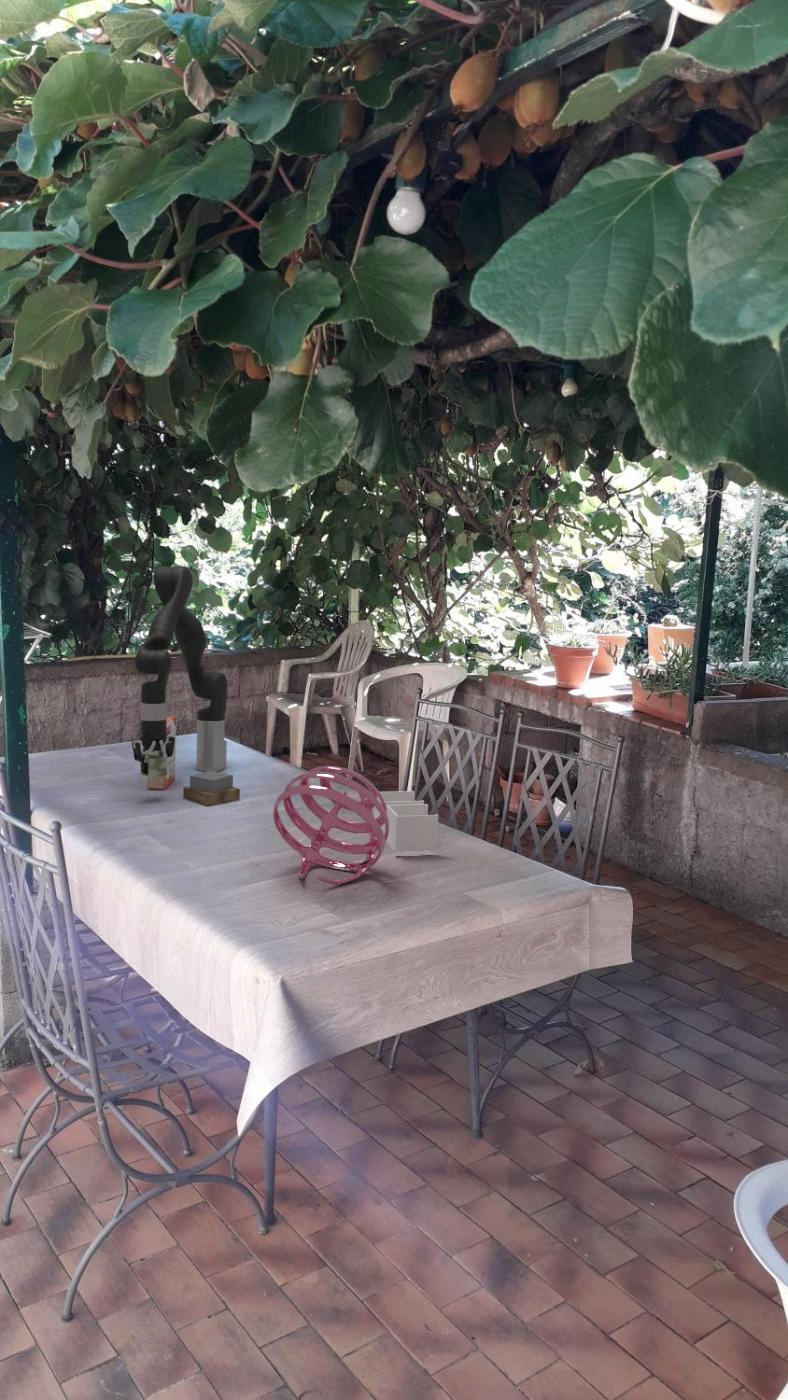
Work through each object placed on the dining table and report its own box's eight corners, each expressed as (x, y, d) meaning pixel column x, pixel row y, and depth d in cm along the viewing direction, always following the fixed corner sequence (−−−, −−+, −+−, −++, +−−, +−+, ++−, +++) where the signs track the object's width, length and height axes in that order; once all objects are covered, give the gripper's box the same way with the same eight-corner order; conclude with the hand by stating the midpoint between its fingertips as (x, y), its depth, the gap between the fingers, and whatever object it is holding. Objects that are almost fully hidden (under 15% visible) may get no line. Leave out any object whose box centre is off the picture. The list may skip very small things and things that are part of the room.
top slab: (209, 783, 320) (210, 770, 319) (232, 787, 315) (233, 774, 315) (190, 788, 312) (190, 775, 311) (213, 793, 308) (213, 780, 307)
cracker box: (166, 790, 322) (166, 724, 319) (146, 789, 323) (147, 723, 319) (176, 779, 336) (177, 716, 333) (157, 778, 336) (158, 715, 333)
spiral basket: (327, 824, 223) (372, 737, 241) (230, 831, 238) (279, 748, 256) (385, 907, 237) (423, 819, 255) (290, 909, 252) (332, 826, 270)
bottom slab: (215, 794, 323) (215, 781, 322) (239, 801, 315) (239, 789, 314) (183, 800, 314) (183, 787, 313) (207, 808, 306) (207, 795, 305)
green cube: (156, 771, 313) (156, 753, 312) (166, 775, 310) (167, 757, 309) (140, 774, 309) (140, 756, 308) (151, 778, 306) (151, 759, 305)
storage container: (373, 830, 290) (375, 791, 288) (412, 829, 292) (413, 791, 291) (395, 858, 266) (396, 816, 264) (436, 856, 268) (438, 815, 267)
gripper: (166, 712, 314) (166, 767, 317) (125, 718, 304) (125, 774, 307) (181, 716, 309) (181, 771, 312) (140, 722, 299) (140, 779, 302)
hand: (153, 772), depth 309 cm, fingers closed on green cube, 5 cm apart
